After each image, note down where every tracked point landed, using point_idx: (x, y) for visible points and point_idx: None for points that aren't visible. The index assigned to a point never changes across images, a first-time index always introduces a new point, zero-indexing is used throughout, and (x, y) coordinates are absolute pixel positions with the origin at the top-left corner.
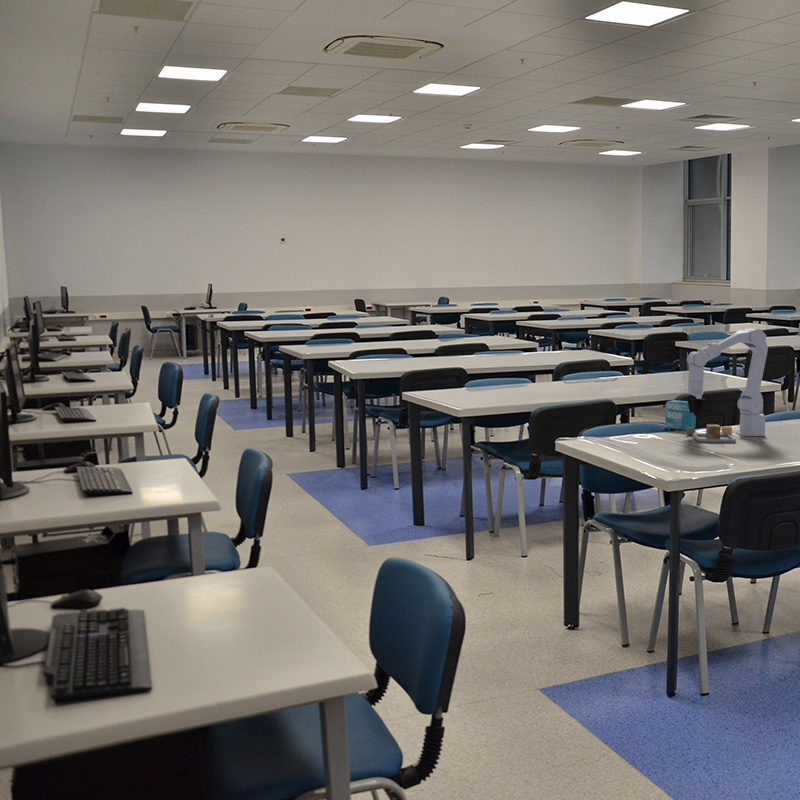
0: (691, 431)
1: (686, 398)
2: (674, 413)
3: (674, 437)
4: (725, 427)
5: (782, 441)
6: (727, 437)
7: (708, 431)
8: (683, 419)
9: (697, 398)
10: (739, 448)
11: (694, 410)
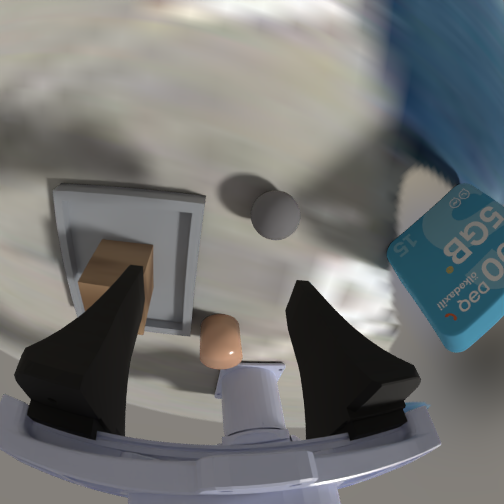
0: (251, 214)
1: (396, 360)
2: (480, 238)
3: (212, 96)
4: (211, 353)
5: (144, 398)
6: (170, 321)
7: (93, 263)
8: (433, 254)
9: (6, 400)
10: (6, 285)
11: (110, 295)
